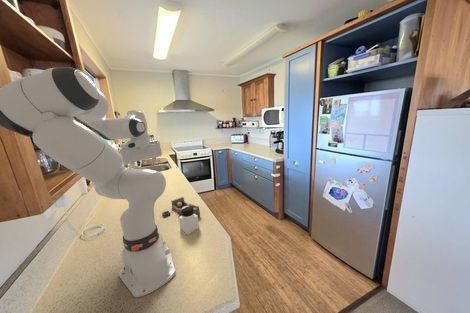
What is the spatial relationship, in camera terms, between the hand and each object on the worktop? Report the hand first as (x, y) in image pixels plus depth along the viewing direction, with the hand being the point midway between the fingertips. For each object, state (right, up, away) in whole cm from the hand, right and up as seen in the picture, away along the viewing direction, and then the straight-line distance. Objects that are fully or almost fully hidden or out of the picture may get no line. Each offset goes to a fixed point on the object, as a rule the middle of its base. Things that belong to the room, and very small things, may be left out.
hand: (145, 167), depth 96 cm
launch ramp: (+22, -29, +9) cm, 37 cm away
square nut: (+8, -29, +10) cm, 32 cm away
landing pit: (+15, -27, +17) cm, 35 cm away
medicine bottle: (+26, -32, -4) cm, 41 cm away
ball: (+13, -25, +19) cm, 34 cm away
